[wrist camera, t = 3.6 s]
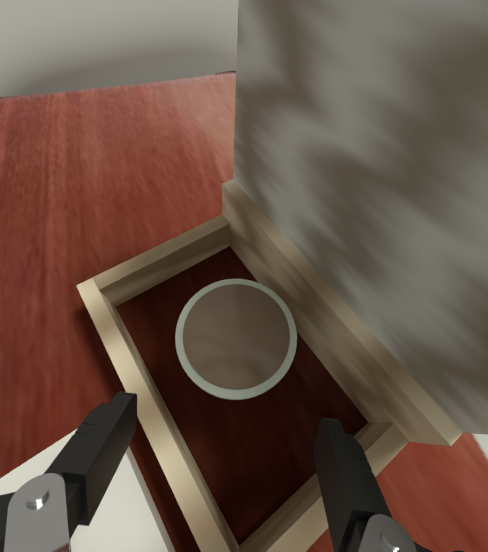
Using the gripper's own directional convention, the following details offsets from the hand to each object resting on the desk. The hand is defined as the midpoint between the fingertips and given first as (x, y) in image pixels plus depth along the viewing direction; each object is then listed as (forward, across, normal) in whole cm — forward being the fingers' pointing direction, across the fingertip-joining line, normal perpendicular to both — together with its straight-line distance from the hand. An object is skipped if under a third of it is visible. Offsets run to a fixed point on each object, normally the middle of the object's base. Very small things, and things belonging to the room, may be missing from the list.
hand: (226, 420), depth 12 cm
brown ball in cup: (+9, 0, +3) cm, 10 cm away
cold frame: (+9, 0, +3) cm, 10 cm away
